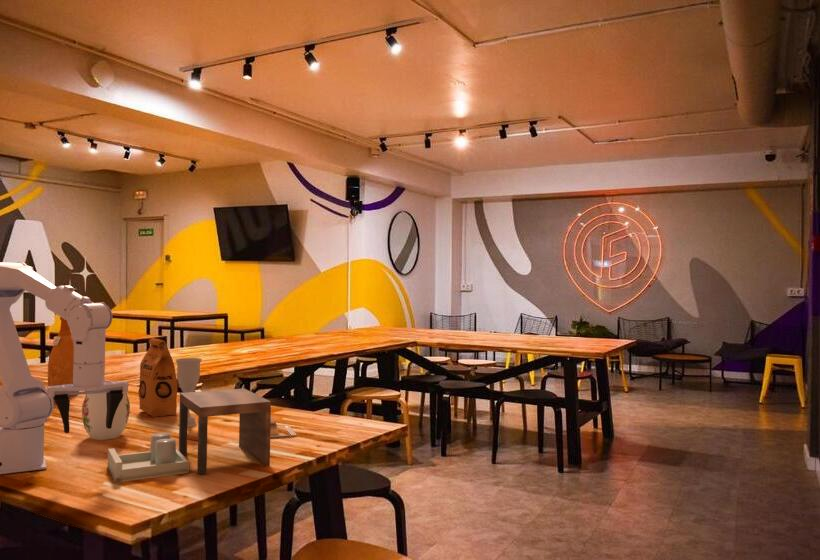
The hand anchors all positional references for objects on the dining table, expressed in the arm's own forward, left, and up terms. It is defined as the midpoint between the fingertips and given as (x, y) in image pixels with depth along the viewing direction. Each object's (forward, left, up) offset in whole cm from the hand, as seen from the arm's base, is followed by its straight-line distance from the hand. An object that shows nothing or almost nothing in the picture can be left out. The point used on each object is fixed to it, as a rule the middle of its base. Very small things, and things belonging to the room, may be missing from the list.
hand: (88, 429), depth 131 cm
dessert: (+45, +19, -10) cm, 50 cm away
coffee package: (+24, +58, -10) cm, 63 cm away
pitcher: (+7, +35, -10) cm, 37 cm away
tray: (+11, -1, -10) cm, 15 cm away
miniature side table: (+27, -1, -9) cm, 29 cm away
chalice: (+28, +38, -10) cm, 48 cm away
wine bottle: (+2, +104, -10) cm, 104 cm away
